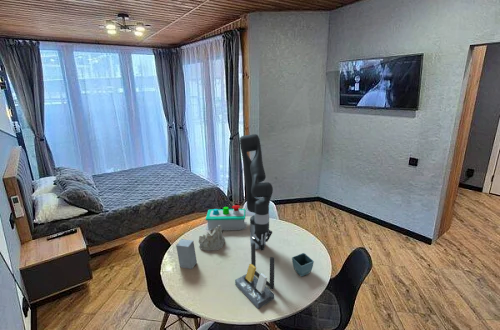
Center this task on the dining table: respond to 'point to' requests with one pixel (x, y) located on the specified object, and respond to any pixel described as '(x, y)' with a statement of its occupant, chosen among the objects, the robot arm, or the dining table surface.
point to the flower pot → (302, 264)
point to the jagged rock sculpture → (212, 240)
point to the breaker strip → (254, 291)
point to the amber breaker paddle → (250, 272)
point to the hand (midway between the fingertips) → (261, 249)
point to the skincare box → (186, 253)
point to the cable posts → (272, 260)
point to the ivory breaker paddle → (261, 282)
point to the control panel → (226, 218)
